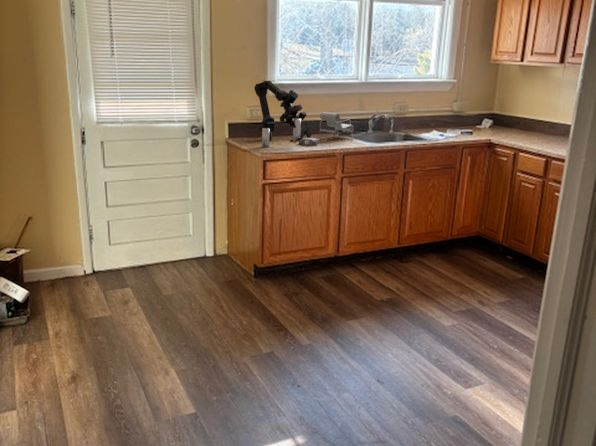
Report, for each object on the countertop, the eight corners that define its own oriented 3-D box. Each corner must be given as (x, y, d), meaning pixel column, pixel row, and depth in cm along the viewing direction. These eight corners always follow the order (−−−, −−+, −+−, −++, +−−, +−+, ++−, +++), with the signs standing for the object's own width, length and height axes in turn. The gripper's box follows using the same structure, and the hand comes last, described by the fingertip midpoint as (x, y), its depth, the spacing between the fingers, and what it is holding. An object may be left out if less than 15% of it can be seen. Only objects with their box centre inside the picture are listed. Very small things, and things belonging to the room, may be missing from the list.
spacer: (260, 147, 374) (261, 128, 370) (263, 146, 378) (263, 127, 375) (267, 147, 373) (268, 129, 369) (270, 146, 377) (270, 128, 374)
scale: (297, 144, 387) (297, 139, 386) (303, 141, 401) (303, 136, 400) (315, 146, 384) (315, 140, 383) (320, 143, 398) (320, 137, 397)
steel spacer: (292, 137, 373) (292, 118, 370) (293, 136, 378) (294, 118, 374) (299, 138, 372) (300, 119, 369) (301, 137, 377) (301, 118, 373)
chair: (318, 139, 412) (320, 112, 407) (338, 136, 431) (340, 110, 425) (334, 142, 405) (335, 114, 399) (353, 138, 423) (355, 111, 418)
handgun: (311, 135, 420) (309, 121, 413) (300, 148, 410) (297, 133, 402) (309, 135, 421) (306, 120, 414) (298, 147, 411) (295, 133, 403)
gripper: (282, 100, 365) (292, 120, 360) (305, 99, 377) (315, 119, 372) (275, 111, 373) (284, 131, 369) (297, 110, 385) (307, 129, 380)
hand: (298, 127), depth 372 cm, fingers closed on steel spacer, 5 cm apart
